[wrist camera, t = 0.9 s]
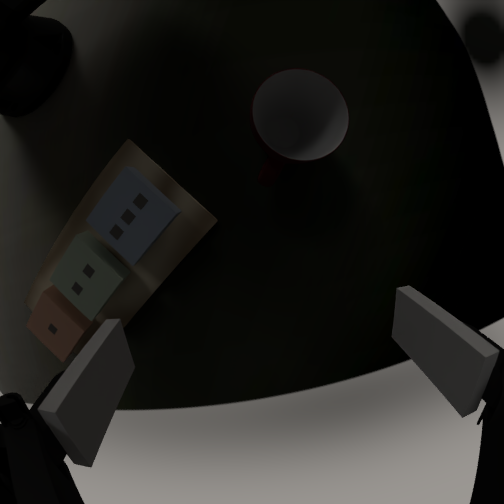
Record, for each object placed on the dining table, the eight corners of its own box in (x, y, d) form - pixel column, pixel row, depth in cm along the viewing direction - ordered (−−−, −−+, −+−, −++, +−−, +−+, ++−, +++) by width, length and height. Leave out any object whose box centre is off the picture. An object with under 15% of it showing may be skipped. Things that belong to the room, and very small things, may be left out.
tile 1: (36, 317, 32) (25, 325, 29) (54, 283, 31) (43, 291, 28) (72, 352, 33) (63, 362, 31) (93, 321, 32) (84, 331, 30)
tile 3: (97, 217, 30) (85, 220, 27) (134, 167, 29) (125, 166, 26) (141, 259, 31) (132, 266, 28) (181, 211, 30) (176, 214, 27)
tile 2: (60, 272, 31) (49, 279, 28) (87, 230, 30) (76, 234, 27) (100, 311, 32) (91, 321, 29) (131, 272, 31) (122, 279, 28)
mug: (301, 198, 33) (327, 204, 23) (231, 177, 32) (229, 175, 22) (325, 112, 31) (358, 88, 21) (258, 90, 30) (266, 55, 20)
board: (26, 300, 34) (17, 306, 31) (130, 139, 30) (122, 136, 28) (93, 364, 37) (86, 374, 34) (217, 220, 33) (216, 223, 30)
